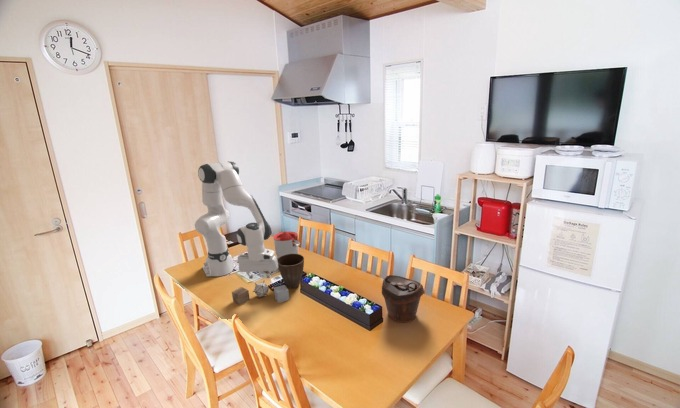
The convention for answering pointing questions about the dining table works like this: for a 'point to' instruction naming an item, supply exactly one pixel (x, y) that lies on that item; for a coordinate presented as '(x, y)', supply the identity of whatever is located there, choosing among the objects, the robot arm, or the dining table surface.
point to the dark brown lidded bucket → (401, 297)
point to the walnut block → (240, 296)
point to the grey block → (281, 293)
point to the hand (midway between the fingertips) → (260, 278)
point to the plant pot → (291, 269)
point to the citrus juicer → (286, 243)
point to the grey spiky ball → (261, 289)
